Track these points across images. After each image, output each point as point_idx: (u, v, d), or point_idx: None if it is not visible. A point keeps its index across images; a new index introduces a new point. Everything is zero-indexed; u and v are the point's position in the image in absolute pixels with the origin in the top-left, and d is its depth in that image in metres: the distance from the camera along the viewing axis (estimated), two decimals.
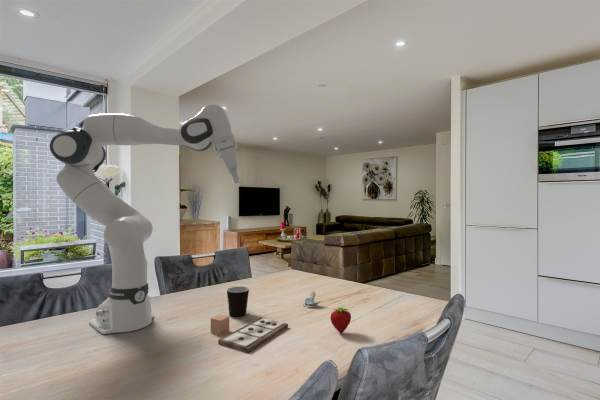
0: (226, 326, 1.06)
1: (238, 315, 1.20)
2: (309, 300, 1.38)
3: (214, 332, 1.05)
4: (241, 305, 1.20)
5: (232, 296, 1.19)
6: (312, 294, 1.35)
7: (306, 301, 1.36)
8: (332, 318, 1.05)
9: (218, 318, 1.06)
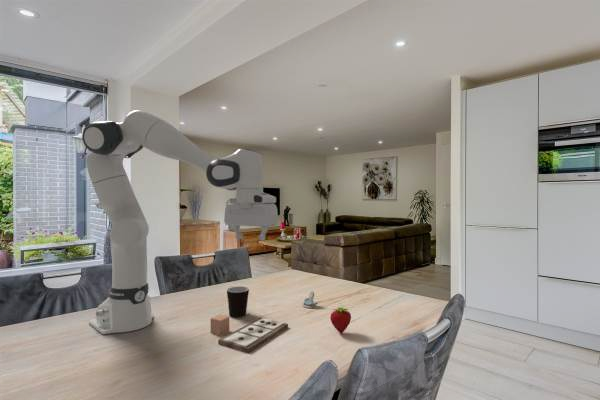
0: (226, 326, 1.06)
1: (238, 315, 1.20)
2: (308, 300, 1.37)
3: (214, 332, 1.05)
4: (241, 305, 1.20)
5: (232, 296, 1.19)
6: (311, 294, 1.35)
7: (305, 301, 1.36)
8: (332, 318, 1.05)
9: (218, 318, 1.06)
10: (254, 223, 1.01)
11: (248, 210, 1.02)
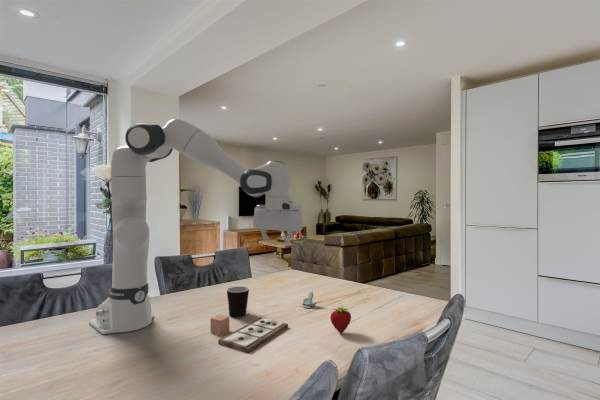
0: (226, 326, 1.06)
1: (238, 315, 1.20)
2: (307, 300, 1.37)
3: (214, 332, 1.05)
4: (241, 305, 1.20)
5: (232, 296, 1.19)
6: (310, 294, 1.34)
7: (304, 301, 1.36)
8: (332, 318, 1.05)
9: (218, 318, 1.06)
10: (281, 228, 1.13)
11: (276, 216, 1.14)
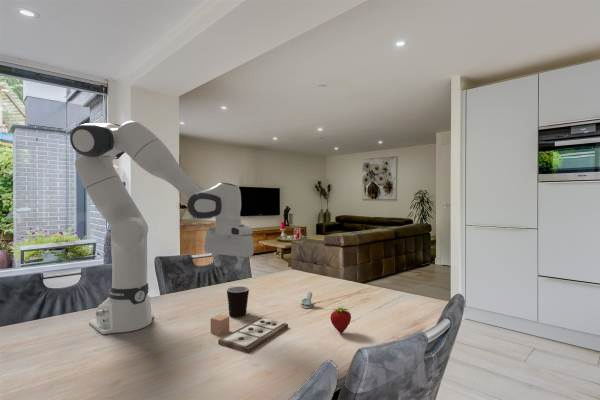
0: (226, 326, 1.06)
1: (238, 315, 1.20)
2: (306, 301, 1.37)
3: (214, 332, 1.05)
4: (241, 305, 1.20)
5: (232, 296, 1.19)
6: (309, 294, 1.34)
7: (303, 302, 1.35)
8: (332, 318, 1.05)
9: (218, 318, 1.06)
10: (231, 253, 1.08)
11: (226, 240, 1.10)
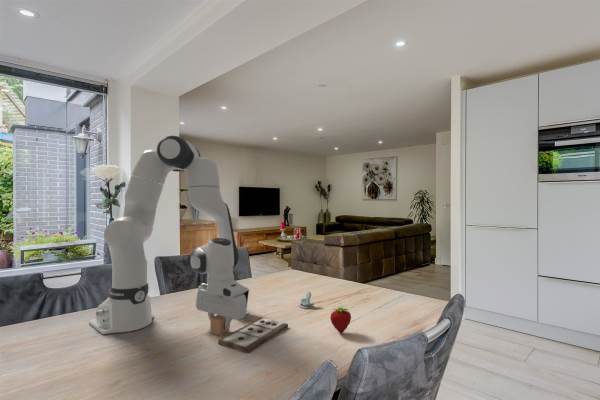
0: None
1: None
2: (305, 301, 1.37)
3: (214, 331, 1.05)
4: None
5: None
6: (308, 295, 1.34)
7: (302, 302, 1.35)
8: (332, 318, 1.05)
9: (218, 317, 1.06)
10: (223, 314, 1.04)
11: (218, 299, 1.05)
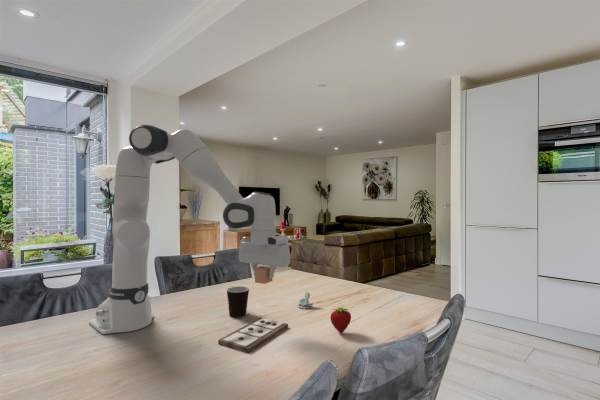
0: None
1: (238, 315, 1.20)
2: (303, 301, 1.36)
3: (258, 281, 1.09)
4: (241, 305, 1.20)
5: (232, 296, 1.19)
6: (306, 295, 1.34)
7: (300, 302, 1.35)
8: (332, 318, 1.05)
9: (262, 267, 1.10)
10: (268, 263, 1.07)
11: (262, 250, 1.09)
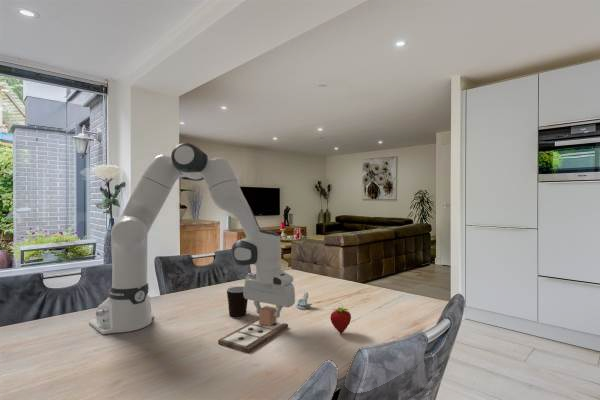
0: (273, 317, 1.10)
1: (238, 315, 1.20)
2: (302, 301, 1.36)
3: (262, 322, 1.09)
4: (241, 305, 1.20)
5: (232, 296, 1.19)
6: (305, 295, 1.33)
7: (299, 302, 1.35)
8: (332, 318, 1.05)
9: (266, 309, 1.10)
10: (272, 302, 1.08)
11: (267, 288, 1.09)
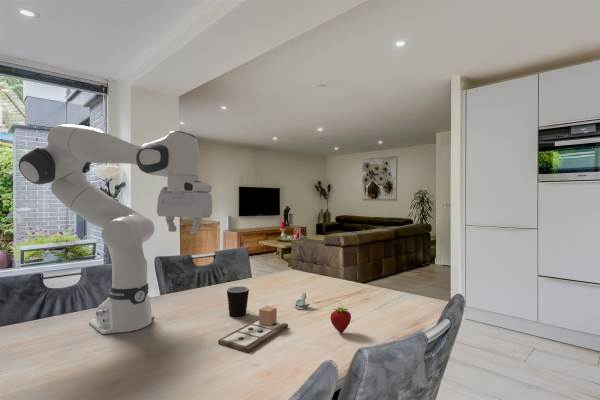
0: (273, 317, 1.10)
1: (238, 315, 1.20)
2: (300, 301, 1.35)
3: (262, 322, 1.09)
4: (241, 305, 1.20)
5: (232, 296, 1.19)
6: (303, 295, 1.33)
7: (297, 303, 1.34)
8: (332, 318, 1.05)
9: (266, 309, 1.10)
10: (185, 214, 0.90)
11: (180, 199, 0.92)
